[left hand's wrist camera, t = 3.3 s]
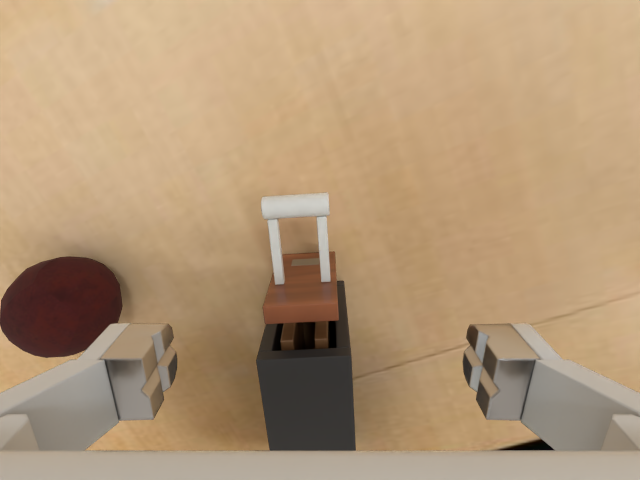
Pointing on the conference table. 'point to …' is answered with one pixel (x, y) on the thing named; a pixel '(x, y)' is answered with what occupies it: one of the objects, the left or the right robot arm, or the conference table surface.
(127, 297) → the conference table surface
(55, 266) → the dark red rounded ball
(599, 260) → the conference table surface
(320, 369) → the cabinet
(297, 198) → the drawer
